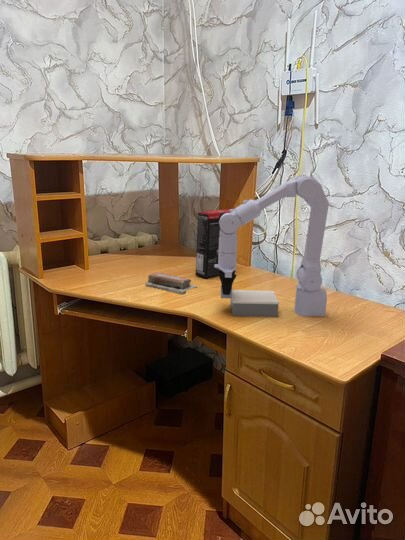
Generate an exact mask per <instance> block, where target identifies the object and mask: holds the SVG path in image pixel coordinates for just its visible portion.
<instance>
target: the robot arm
mask: <svg viewBox="0 0 405 540" xmlns="http://www.w3.org/2000/svg"><path fill="white" fill-rule="evenodd" d="M297 196H298V197H300V198H302V199H303V200H304V201H305V203H307V205H308V206H309V207H310V212H309V213H310V214H309V219H308V225H307V232H306V240H305V245H304V252H303V258H302V259H301V261H300V265H299V268H298V269H297V270H296V279H298V282H297V285H296V287H295V288H296V289H295V298H294V313H295V314H297V315H298V316H302V317H325V316H326V311H327V303H328V302H327V301H328V297H327V296H328V293H327V290H326V289H325V288H323V287H322V288H321V286H322V285H323V278H322V275H321V271H322V267H321V256H322V255H321V254H322V250H323V249H322V248H323V243H324V237H325V231H326V229H325V228H326V224H327V217H328V212H329V205H330V204H329V201H328V197H327V196H326V193H325V191H324V188H323V186H322V184H321V183H320V182H319V181H318V180H317V179H316V178H315V177H313V176H307V175H303V174H302V175H298V176H296V177H295V178H291V179H289V180H288V181H285V182H284V183H282V184H281V185H279V186H277V187H275V188H274V189H273V190H271V191H270V192H268V193H266V194H265V195H263V196H262V197H260V198H259V199H257V200H255V199H248V200H247V199H244V200H243V201H242V202H243V203H242V204H240V205H238V206H237V207H235V208H234V209H233V208H231V209H230V213H225V214H223V215H222V216H221V218H220V221H219V225H220V228H221V229H220V237H219V255H218V264H215V265H214V267H215V268H219V269H218V277H219V280H220V283H221V285H222V291H223V295H230V292H231V288H232V289H233V284H234V281H235V280H236V278H237V273H236V270H237V268H238V266H237V257H238V256H237V255H238V254H237V253H238V237H237V236H238V230H239V228H240V227H243V226H245V225H246V224H248V223H250V222H251V221H253V220H255V219H257V218H258V217H260V216H261V214H262V210H263V209H266V208H268V207H270V206H272V205H273V204H275V203H277V202H279V201H281V200H282V199H285V198H297Z"/></svg>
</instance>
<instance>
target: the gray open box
mask: <svg viewBox="0 0 405 540" xmlns="http://www.w3.org/2000/svg"><path fill="white" fill-rule="evenodd" d="M230 309H231V315H232V317H257V318H258V317H259V318H260V317H262V318H263V317H264V318H268V317H269V318H278V313H279V311H278V310H279V304H243V303H233V302H232V298H230Z"/></svg>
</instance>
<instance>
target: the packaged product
mask: <svg viewBox="0 0 405 540" xmlns="http://www.w3.org/2000/svg"><path fill="white" fill-rule="evenodd" d="M147 278H148V279H147V280H148V281H147V282H145V285H146V286H145V287H148V286H149V287H148V288H152V287H153V289H156V288H157V290H160V289H161V291H164V290H165V291H166V292H169V293H173V294H178V295H184V294H187V291H189V290H191V289H198V285H193V284H191V283H192V279H191V278H190V279H189V278H186V277H182V276H177V275H173V274H168V273H164V272H160V271H159V272H158V271H156V272H153V273H150V274H149V275H148V277H147Z"/></svg>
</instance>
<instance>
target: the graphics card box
mask: <svg viewBox="0 0 405 540" xmlns="http://www.w3.org/2000/svg"><path fill="white" fill-rule="evenodd" d="M225 213H230V209H228V208H227V209H218V210H207V211H198V212H197V233H196V255H195V256H196V257H195V276H197V277H200V278H203V279H208V278H212V277H217V276H218V277H219V275H218V269H219V268H215V267H214V265H215V264H218V255H219V237H220V229H221V228H220V225H219V221H220V218H221V216H222V215H223V214H225Z"/></svg>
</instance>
